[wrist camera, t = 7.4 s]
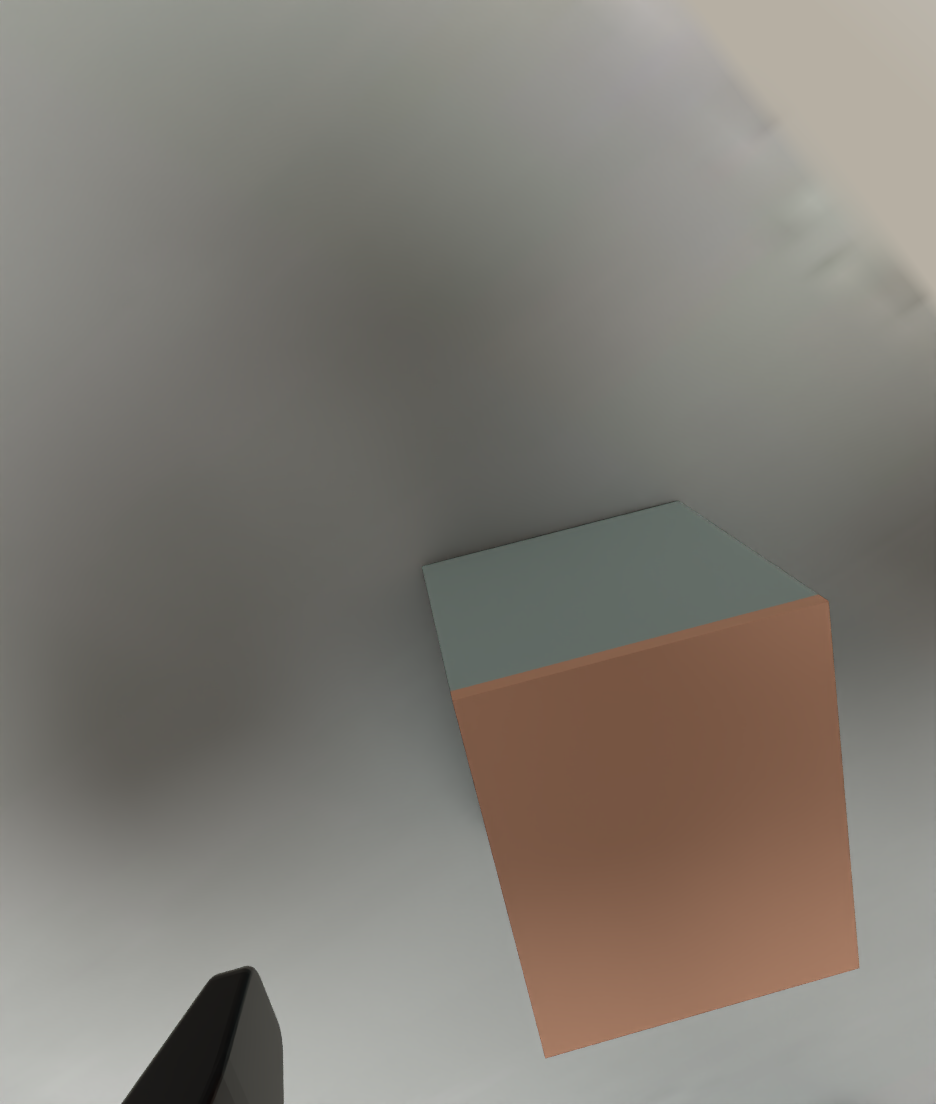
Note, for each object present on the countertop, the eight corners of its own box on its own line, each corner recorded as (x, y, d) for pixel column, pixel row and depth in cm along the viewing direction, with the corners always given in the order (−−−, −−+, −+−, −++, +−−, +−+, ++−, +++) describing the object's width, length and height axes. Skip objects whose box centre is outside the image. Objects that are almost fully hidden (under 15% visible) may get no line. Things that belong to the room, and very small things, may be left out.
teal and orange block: (679, 500, 12) (829, 601, 8) (717, 775, 14) (859, 967, 10) (421, 566, 12) (452, 701, 8) (491, 838, 14) (546, 1057, 10)
